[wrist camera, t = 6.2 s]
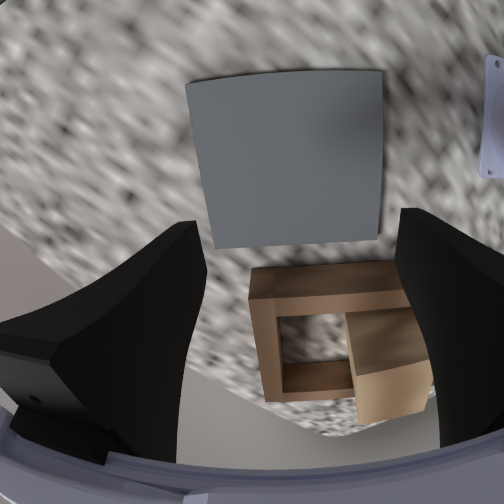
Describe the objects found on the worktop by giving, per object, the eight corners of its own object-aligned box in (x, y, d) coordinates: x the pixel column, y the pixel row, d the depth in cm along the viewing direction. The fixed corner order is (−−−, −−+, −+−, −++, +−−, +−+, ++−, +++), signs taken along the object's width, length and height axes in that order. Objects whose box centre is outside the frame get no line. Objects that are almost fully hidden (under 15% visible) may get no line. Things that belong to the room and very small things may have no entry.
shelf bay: (466, 254, 19) (484, 280, 17) (428, 359, 26) (437, 384, 24) (251, 268, 21) (248, 299, 19) (266, 374, 28) (265, 402, 25)
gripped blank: (407, 280, 21) (438, 356, 15) (403, 341, 25) (423, 410, 19) (340, 294, 22) (356, 376, 16) (348, 353, 26) (358, 425, 20)
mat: (379, 71, 14) (381, 71, 13) (375, 235, 19) (376, 239, 19) (187, 83, 15) (184, 84, 15) (216, 244, 20) (215, 249, 20)
